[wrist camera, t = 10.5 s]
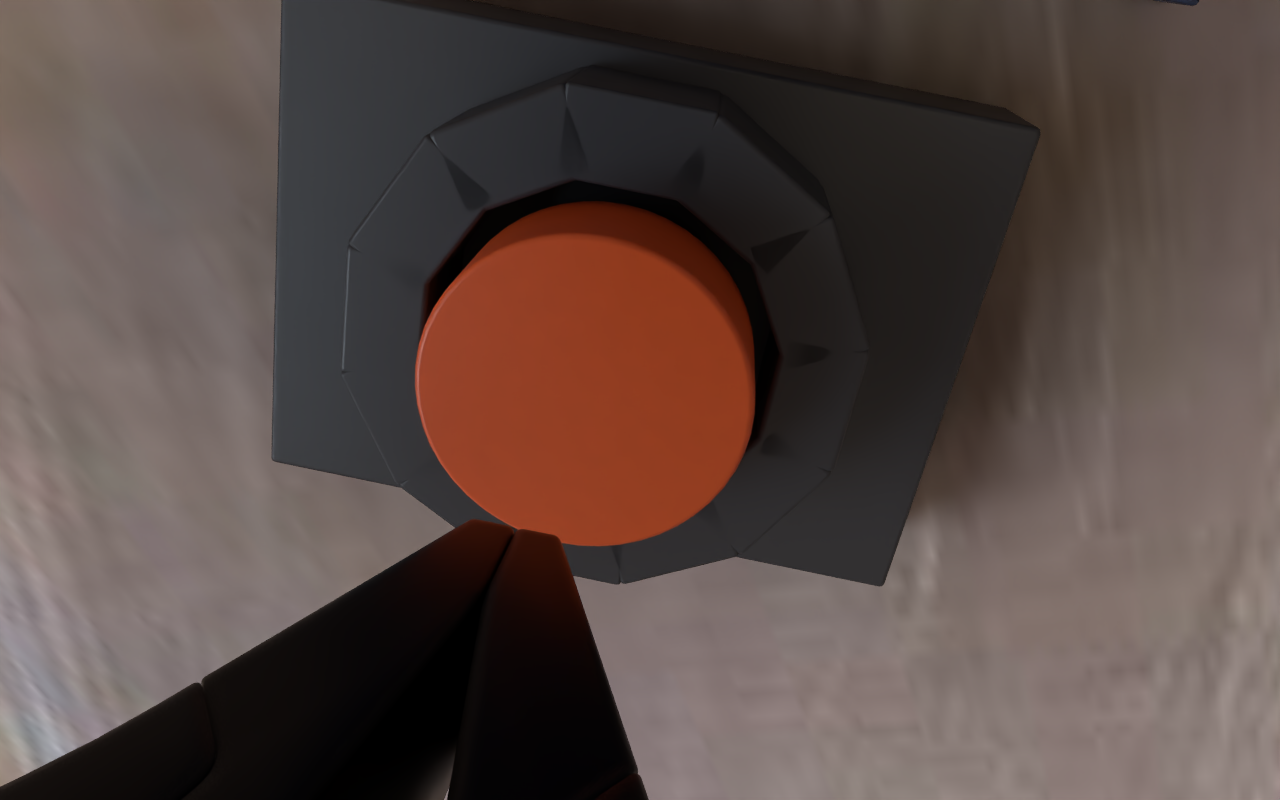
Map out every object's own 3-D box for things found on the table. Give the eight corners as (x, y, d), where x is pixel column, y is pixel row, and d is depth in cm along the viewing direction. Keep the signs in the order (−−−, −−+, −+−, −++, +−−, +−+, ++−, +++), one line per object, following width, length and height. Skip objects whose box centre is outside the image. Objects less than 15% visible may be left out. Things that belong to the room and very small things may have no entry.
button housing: (1009, 108, 16) (1089, 156, 12) (870, 528, 19) (900, 664, 15) (332, -28, 16) (210, -21, 12) (314, 414, 19) (214, 522, 16)
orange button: (787, 235, 13) (792, 274, 12) (717, 511, 15) (715, 577, 13) (465, 170, 13) (427, 200, 12) (436, 454, 15) (400, 512, 14)
